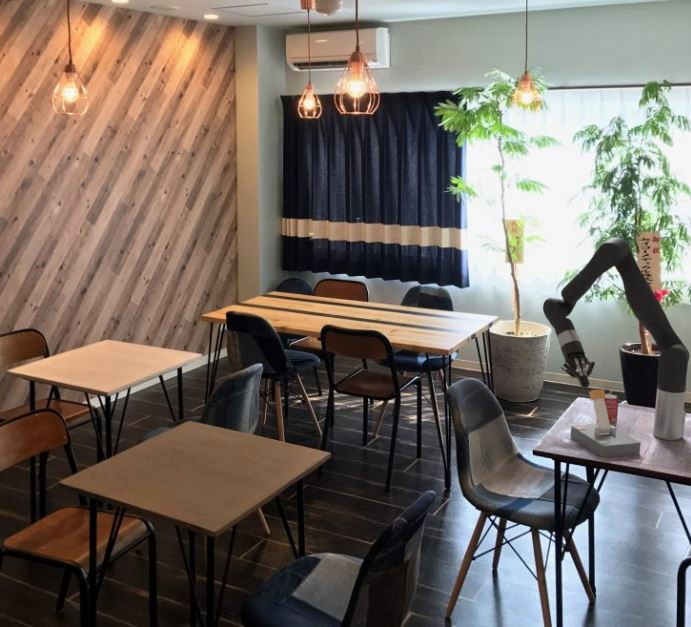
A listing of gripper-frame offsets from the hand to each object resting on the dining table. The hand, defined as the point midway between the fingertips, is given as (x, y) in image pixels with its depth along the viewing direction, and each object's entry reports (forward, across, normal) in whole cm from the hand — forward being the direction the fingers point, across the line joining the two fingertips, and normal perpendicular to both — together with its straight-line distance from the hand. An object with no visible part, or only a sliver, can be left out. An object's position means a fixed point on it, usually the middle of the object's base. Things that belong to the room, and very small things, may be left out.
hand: (586, 386), depth 285 cm
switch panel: (+22, 0, +2) cm, 22 cm away
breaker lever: (+18, 0, -2) cm, 18 cm away
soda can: (+10, +11, +14) cm, 20 cm away
